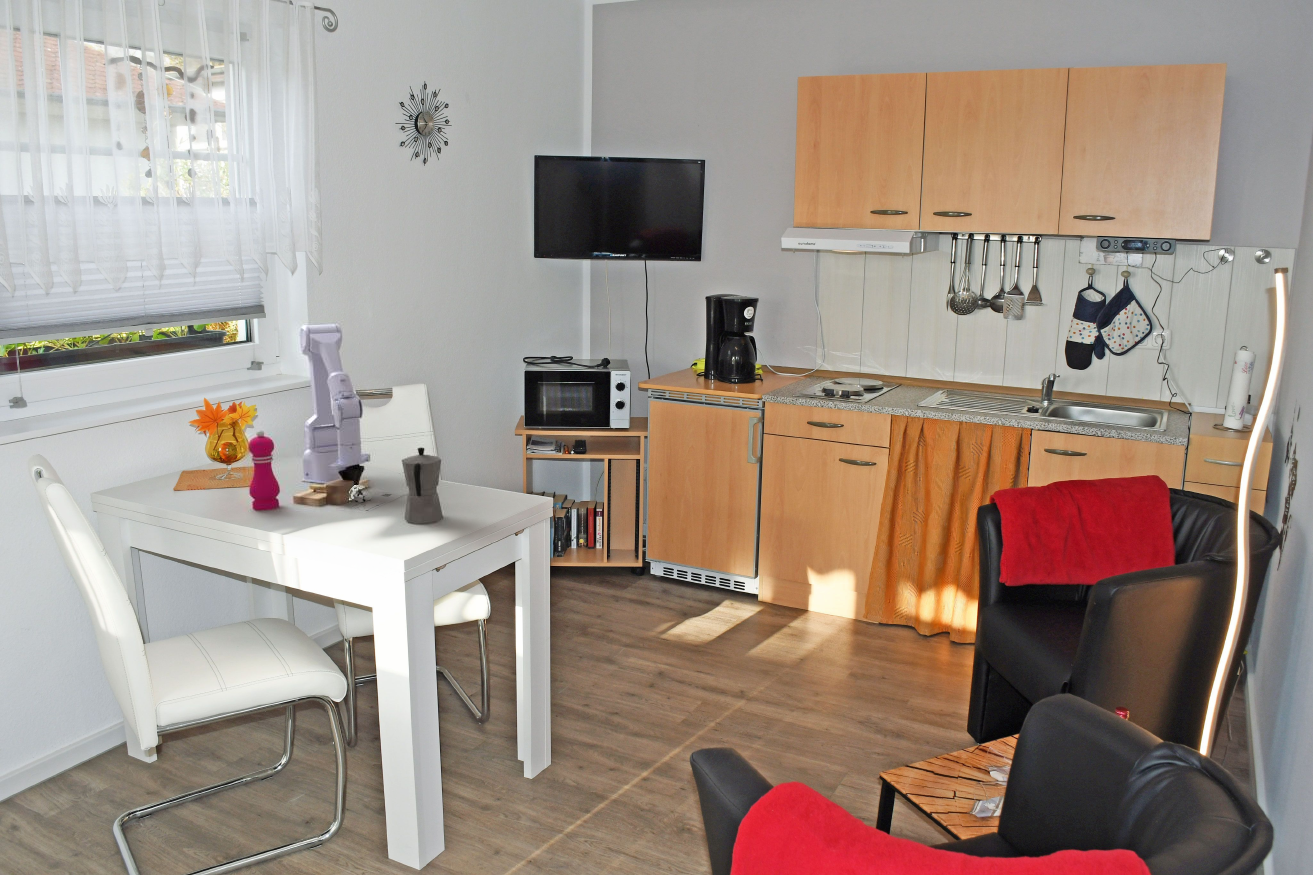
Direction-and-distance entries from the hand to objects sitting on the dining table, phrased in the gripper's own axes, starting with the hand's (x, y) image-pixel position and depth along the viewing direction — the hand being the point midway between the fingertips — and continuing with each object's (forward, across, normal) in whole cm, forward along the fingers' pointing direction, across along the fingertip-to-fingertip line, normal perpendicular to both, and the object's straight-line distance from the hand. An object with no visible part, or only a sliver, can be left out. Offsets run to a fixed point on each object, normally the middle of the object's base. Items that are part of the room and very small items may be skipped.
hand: (352, 493), depth 258 cm
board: (+1, 0, +6) cm, 6 cm away
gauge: (+1, -5, +3) cm, 6 cm away
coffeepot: (+1, -11, -29) cm, 31 cm away
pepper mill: (+1, -16, +14) cm, 21 cm away
